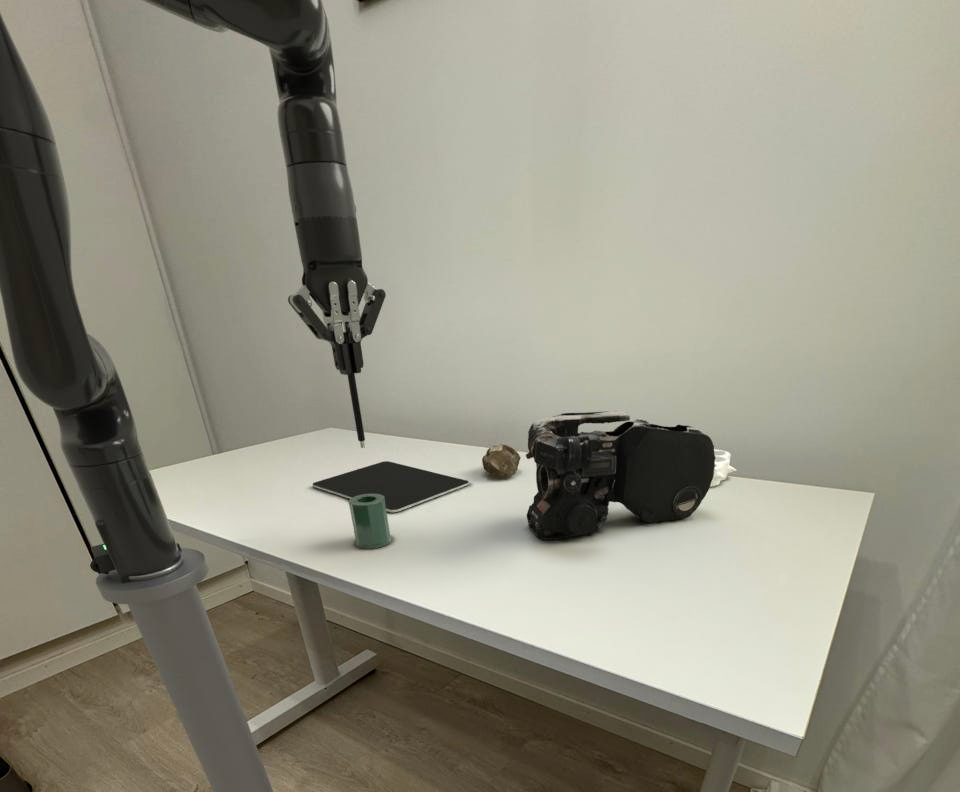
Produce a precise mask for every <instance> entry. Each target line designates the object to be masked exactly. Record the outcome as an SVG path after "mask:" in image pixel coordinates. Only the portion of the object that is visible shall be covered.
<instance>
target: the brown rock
mask: <svg viewBox="0 0 960 792" xmlns="http://www.w3.org/2000/svg"><path fill="white" fill-rule="evenodd" d="M520 461H521V455H520V453H519V452H518V451H517V450H516V449H515V448H513V447H512V446H509V445H507V444H503V443H496V444H494V445H492V446H490V447H489V448H488V449H487V450H486V453H485V455H483V456H482V458H481V462H482V463H481V464H482V467H483V470H484V471H485V472H486V473H487V474H488V475H490V476H492V477H496V478H508V477H512V476H514V475H515V474H516V472H517V471H518V468H519V465H520Z"/></svg>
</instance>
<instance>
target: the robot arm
mask: <svg viewBox="0 0 960 792" xmlns="http://www.w3.org/2000/svg"><path fill="white" fill-rule="evenodd" d="M142 1H143V2H145V3H147V4H149V5H151V6H153V7H156V8H158V9H160V10H163V11H165V12H166V13H169V14H171V15H174V16H176V17H178V18H180V19H184V20H185V21H186V22H187V21H188V22H190V23H192V24H193V25H196V26H199V27H201V28H203V29H207V30H208V31H212V32H216V33H220V34H221V33H222V34H223V33H226V32H229V30H230V31H232V32H234V33H236V34H239V35H241V36H244V37H246V38H249V39H251V40H253V41H256V42H258V43H259V44H262V45H263V46H266V47H267V48H268V50H269V55H270V59H271V64H272V70H273V74H274V81H275V87H276V91H277V96H278V102H279V103H278V107H277V125H278V132H279V138H280V143H281V148H282V153H283V159H284V164H285V168H286V169H285V170H286V177H287V189H288V198H289V202H290V203H289V204H290V208H291V214H292V219H293V225H294V230H295V235H296V239H297V245H298V250H299V254H300V255H299V257H300V260H301V261H300V262H301V264H302V277H301V284H302V285H301V286H300V288H298V290H297V291H296V292H295V293H294V294H289V296H287V297H288V298H287V302H288V304H289V305H290V307H291V308H292V309H293V310H294V312H295V313H296V315H298V317H299V318H300V320H302V322H303V323H304V324H305V325H306V326H307V328H308V329H309V330H310V332H311V333H312V334H313V335H314V337H315V338H316V339H318V340H322V341H326V342H328V343H329V344H330V345H331V351H332V356H333V357H332V358H333V362H334V367H335V368H336V370H337V371H339V373H340V374H341V375H342V376H343V375H344V376H347V375H348V374H351V369H350V363H349V357H348V351H347V345H346V344H344V335H343V332H348V336H349V342H350V348H351V355H352V361H353V367H354V373H355V374H361V373H362V369H363V368H364V357H363V349H362V340H363V339H364V338H365V337H367V336H371V335H372V333H373V331H374V328H375V326H376V323H377V320H378V318H379V315H380V313H381V309H382V307H383V305H384V302H385V299H386V291H385V290H384V289H383V288H377V287H376V286H374V285H373V284H371V283H370V282H369V278H368V275H367V274H366V272H365V269H364V267H363V254H362V253H363V252H362V246H361V239H360V233H359V232H360V231H359V226H358V219H357V205H356V203H355V198H354V192H353V186H352V183H351V179H350V174H349V168H348V163H347V162H348V161H347V156H346V149H345V141H344V134H343V128H342V123H341V117H340V114H339V110H338V102H337V101H338V100H337V99H338V97H337V86H336V75H335V74H336V73H335V63H334V61H335V60H334V54H333V45H332V37H331V30H330V25H329V19H328V17H327V13H326V10H325V7H324V4H323V1H322V0H142ZM51 125H52V124H51V122H50V118H49V116H48V114H47V112H46V109H45V106H44V104H43V102H42V99H41V97H40V95H39V92H38V91H37V88H36V85H35V84H34V81H33V80H32V77H31V76H30V73H29V72H28V68H27V67H26V64H25V62H24V61H23V58H22V56H21V54H20V53H19V50H18V48H17V46H16V44H15V42H14V39H13V38H12V36H11V33H10V31H9V28H8V27H7V24H6V23H5V20H4V18H3V16H2V13H1V12H0V297H1V302H2V307H3V311H4V317H5V323H6V327H7V332H8V338H9V343H10V344H9V345H10V348H11V354H12V358H13V363H14V366H15V369H16V372H17V375H18V376H19V378H20V380H21V382H22V383H23V384H24V386H25V387H26V388H27V390H28V391H29V392H30V393H31V394H32V395H33V396H34V397H35V398H37V400H39V401H40V402H42V403H43V404H45V405H47V406H49V407H50V408H52V410H53V412H54V415H55V417H56V420H57V423H58V428H59V435H60V438H59V445H60V449H61V452H62V454H63V456H64V458H65V461H66V464H68V467H69V469H70V471H71V473H72V476H73V478H74V480H75V482H76V484H77V487H78V489H79V491H80V493H81V496H82V498H83V500H84V502H85V505H86V507H87V509H88V511H89V513H90V516H91V518H92V520H93V523H94V525H95V527H96V530H97V531H98V534H99V536H100V539H101V541H102V542H103V543H100V544H96V545H93V546H90V550H91V552H92V555H93V558H92V560H91V562H90V564H89V567H90V569H91V571H93V572H94V573H97V574H100V573H102V574H108V573H109V571H113V570H116V573H117V575H118V577H119V578H120V580H121V582H122V583H127V582H132V581H144V580H150V579H154V578H158V577H161V576H164V575H167V574H169V573H171V572H173V571H175V570H177V569H178V568H179V567H181V566H182V565H183V563H184V559H183V557H182V554H181V553H180V551H181V548H182V547H181V545H180V543H178V542H177V541H176V537H175V535H174V532H173V529H172V526H171V524H170V522H169V518H168V516H167V514H166V511H165V509H164V506H163V504H162V500H161V497H160V495H159V492H158V490H157V487H156V485H155V482H154V479H153V476H152V473H151V471H150V468H149V465H148V463H147V460H146V458H145V455H144V452H143V451H142V447H141V444H140V442H139V438H138V431H137V425H136V422H135V419H134V416H133V412H132V410H131V407H130V404H129V400H128V397H127V394H126V392H125V390H124V387H123V384H122V380H121V378H120V375H119V373H118V370H117V369H116V365H115V363H114V361H113V359H112V357H111V355H110V354H109V352H108V351H107V349H106V348H105V347H104V346H103V345H102V343H101V342H100V341H99V340H98V339H96V338H95V337H94V336H92V335H91V334H89V333H88V331H87V329H86V326H85V323H84V319H83V317H82V313H81V310H80V307H79V303H78V301H77V300H78V299H77V295H76V291H75V287H74V286H75V285H74V280H73V271H72V230H71V213H70V212H71V211H70V204H69V197H68V191H67V186H66V181H65V176H64V172H63V168H62V164H61V163H62V162H61V160H60V156H59V151H58V146H57V142H56V139H55V135H54V132H53V128H52V126H51ZM362 298H363V300H364V302H365V304H364V306H363V309H362V312H361V314H360V308H359V306H360V304H361V302H362ZM311 299H312V300H313V301H314V302H315V304H316V305H317V306H318V308H319V309H320V310H321V313H322V319H323V321H322V319H321V318H320V317H319V316H318V314H317V313H316V312H315V310H314V309H313V308H312V306H313V302H312V300H311ZM181 552H182V551H181Z"/></svg>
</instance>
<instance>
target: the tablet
mask: <svg viewBox="0 0 960 792" xmlns="http://www.w3.org/2000/svg"><path fill="white" fill-rule="evenodd" d="M466 486H469V480H466V479H463V478H458V477H455V476H450V475H445V474H442V473H438V472H433V471H430V470H425V469H422V468H418V467H414V466H409V465H405V464H401V463H397V462H393V461H388V460H386V461H380V462H377V463H374V464H370V465H367V466H364V467H360V468H357V469H355V470H350V471H348V472H344V473H341V474H338V475H335V476H331V477H328V478H324V479H321V480H318V481H315V482H314V481H313V483H312V487H313V488H316V489H319V490H322V491H324V492H328V493H331V494H334V495H337V496H339V497H343V498H346V499H349V500H350V499H351V498H353V497H355V496H358V495H363V494H381V495H383V496H384V498H385V505H386V511H387V513H398V512H400V511H403V510H406V509H408V508H411V507H413V506H417V505H419V504H422V503H424V502H427V501H430V500H432V499H435V498H437V497H440V496H443V495H446V494H448V493H451V492H454V491H457V490H459V489H461V488H464V487H466Z"/></svg>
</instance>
